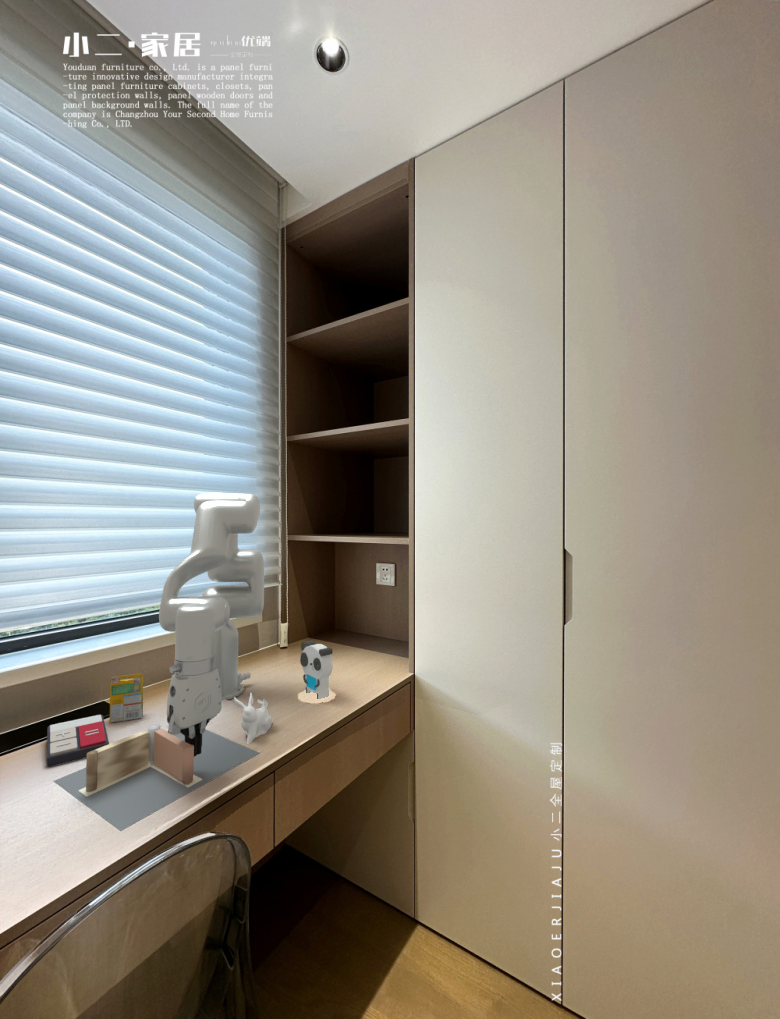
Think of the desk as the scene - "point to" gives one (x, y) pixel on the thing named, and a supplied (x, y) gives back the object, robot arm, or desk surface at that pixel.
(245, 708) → the rabbit figurine
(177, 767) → the fence swing panel
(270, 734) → the desk surface
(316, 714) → the desk surface
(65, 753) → the calculator
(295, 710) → the desk surface
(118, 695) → the crayon box
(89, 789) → the panel
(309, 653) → the panda figurine
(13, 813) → the desk surface
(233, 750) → the mat
